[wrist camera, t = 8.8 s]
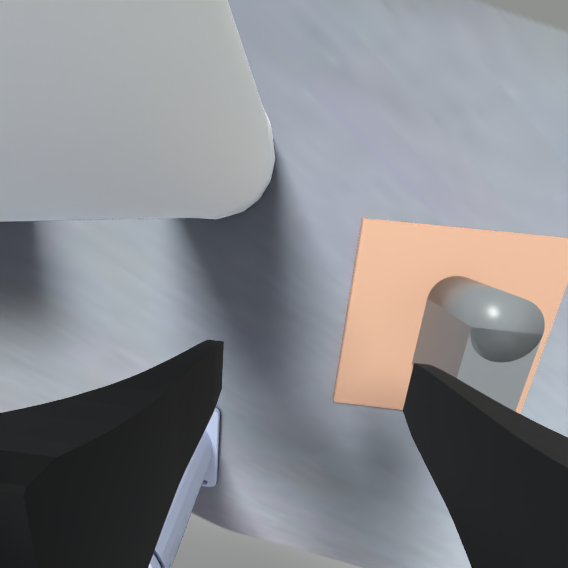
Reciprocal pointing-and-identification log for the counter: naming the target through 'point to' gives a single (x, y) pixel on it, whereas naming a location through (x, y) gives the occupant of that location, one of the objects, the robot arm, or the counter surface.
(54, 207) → the bottle
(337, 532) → the counter surface
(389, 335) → the plate
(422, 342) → the plug
